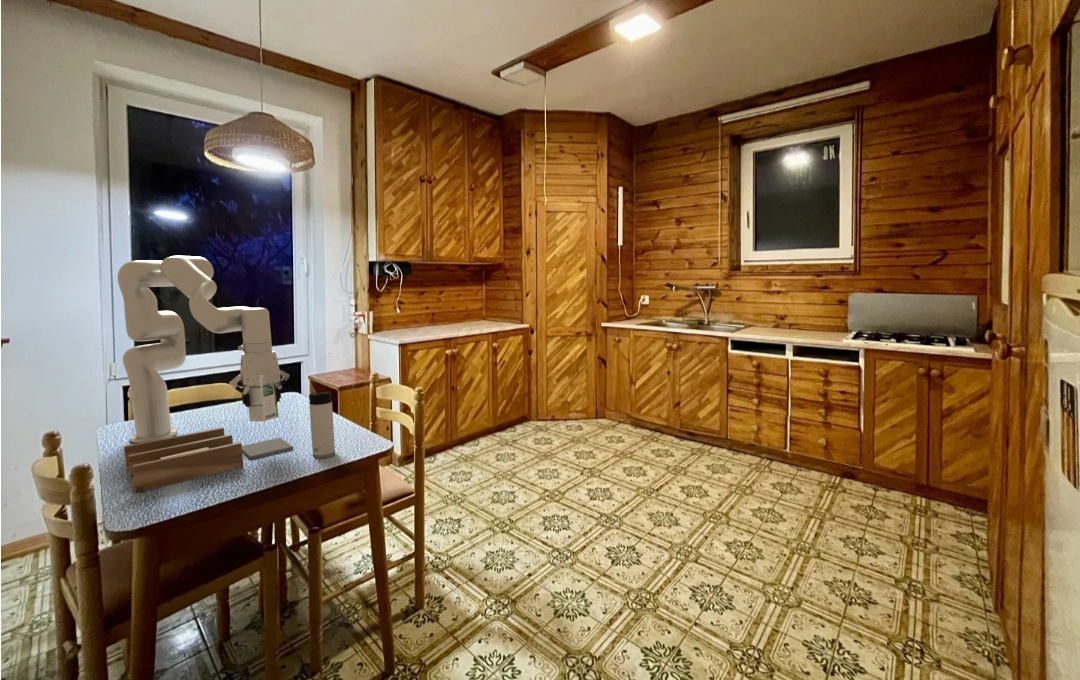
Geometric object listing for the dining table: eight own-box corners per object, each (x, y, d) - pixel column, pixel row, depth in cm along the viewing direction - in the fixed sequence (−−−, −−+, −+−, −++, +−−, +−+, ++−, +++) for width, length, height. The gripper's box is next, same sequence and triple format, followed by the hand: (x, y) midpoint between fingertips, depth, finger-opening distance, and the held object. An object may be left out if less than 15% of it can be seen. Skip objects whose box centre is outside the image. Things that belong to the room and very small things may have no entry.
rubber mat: (239, 449, 154) (238, 446, 154) (280, 440, 163) (279, 437, 162) (250, 459, 146) (250, 456, 146) (292, 449, 154) (292, 446, 154)
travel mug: (315, 460, 145) (311, 395, 142) (310, 454, 150) (306, 390, 147) (337, 456, 149) (333, 392, 146) (332, 449, 154) (328, 388, 151)
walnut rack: (126, 469, 138) (123, 446, 137) (224, 448, 155) (222, 427, 154) (136, 493, 124) (133, 466, 123) (243, 466, 140) (241, 443, 140)
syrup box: (265, 421, 149) (261, 374, 148) (248, 421, 150) (244, 374, 149) (278, 417, 154) (275, 372, 153) (263, 417, 156) (259, 372, 155)
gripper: (228, 352, 141) (234, 411, 143) (292, 346, 153) (296, 400, 156) (221, 350, 146) (227, 406, 149) (284, 343, 158) (288, 396, 161)
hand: (262, 403), depth 152 cm, fingers closed on syrup box, 7 cm apart
